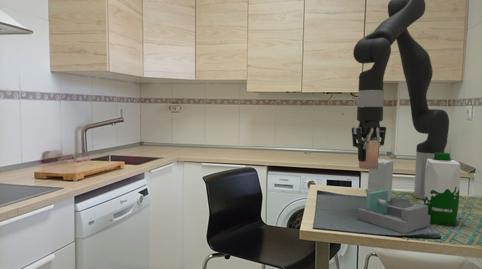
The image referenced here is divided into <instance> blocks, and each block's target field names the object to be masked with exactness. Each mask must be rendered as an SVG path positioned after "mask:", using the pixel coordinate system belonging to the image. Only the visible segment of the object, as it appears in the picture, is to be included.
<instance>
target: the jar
mask: <svg viewBox="0 0 482 269" xmlns="http://www.w3.org/2000/svg"><path fill="white" fill-rule="evenodd" d="M363 143H364V142H362V145H363ZM378 150H379V151H380V148H379V142H377V140H370V141H369V142H368V143H367V146H366V161H364V162H362V161H359V160H358V169H362V170H369V169H378V159H379V157H378Z"/></svg>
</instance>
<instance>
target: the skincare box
mask: <svg viewBox="0 0 482 269" xmlns="http://www.w3.org/2000/svg"><path fill="white" fill-rule="evenodd" d="M393 174H394V160H392V159H383V158H378V169H368V176H367V177H368V178H367V190H366V191H367V192H366V194H367V193H370V192H375V191H381V190H388V201H387V203H389V202H390V201H391V200H392V193H393V192H392V189H393V178H394V177H393Z"/></svg>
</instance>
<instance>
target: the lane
mask: <svg viewBox="0 0 482 269" xmlns="http://www.w3.org/2000/svg"><path fill="white" fill-rule="evenodd" d="M430 217H431V216H430V215H428V206H427V205H424V204H422V203H421V204H417V205H413V206H412V205H411V206H409V207H405V208H404V207H403V208H402V207H398V206H395V205H390V204H387V213H385V214H379V213H376V212H372V211H369V210H366V208H362V207H361V208H357V218H356V219H357V220H360V221H363V222H366V223H370V224H373V225H376V226H379V227H381V228H385V229H388V230H391V231H394V232H398V233H401V234H404V235H406V234H409V233H411V232H412V233H413V232H415V231H414V230H416V231H418V230H417V229H419V230H421V229H420V228H422V229H424V228H423V227H425V226H429V227H430V226H431V223H430ZM425 228H426V227H425Z"/></svg>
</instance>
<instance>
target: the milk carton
mask: <svg viewBox="0 0 482 269" xmlns="http://www.w3.org/2000/svg"><path fill="white" fill-rule="evenodd" d="M450 157H451V155H450V153H449V152H444V153H440V152H436V153H434V159H427V162H426V173H425V188H424V199H423V205H427V206H428V215H430V216H431V217H430V224H435V225H441V226H442V225H443V226H445V225H446V226H453V227H456V226H457V225H456V224H457V220H458V219H457V218H458V210H459V205H460V204H459V202H460V188H461V185H460V184H461V165H462V164H461V163H460V162H459V161H457V160H455V159H450Z"/></svg>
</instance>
